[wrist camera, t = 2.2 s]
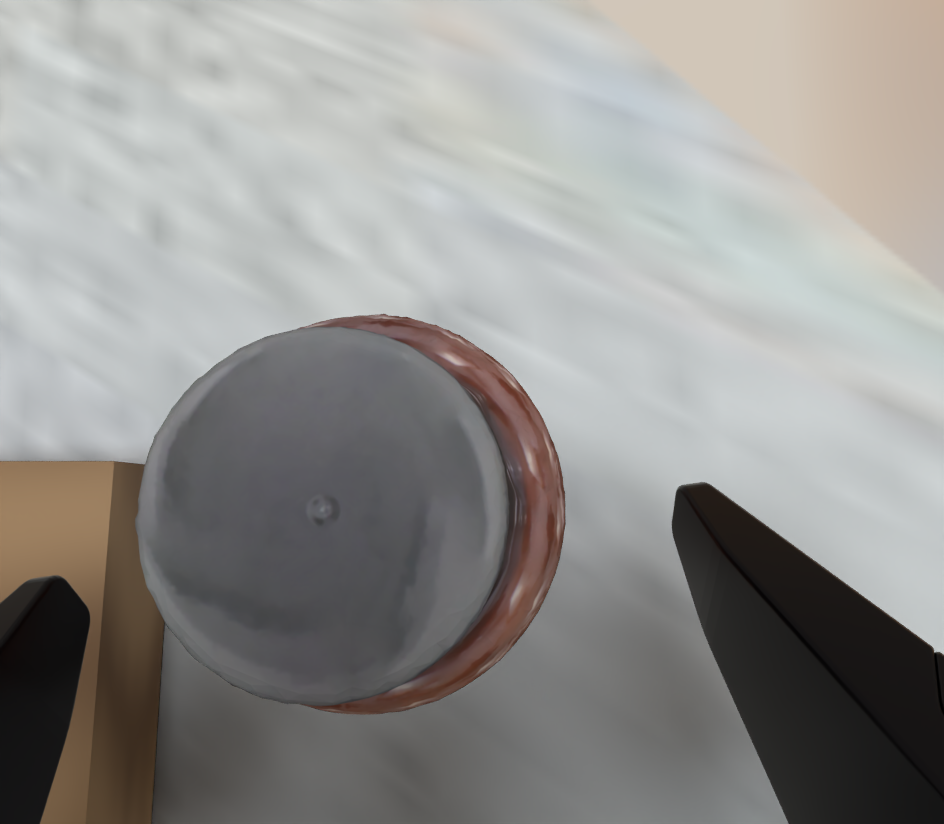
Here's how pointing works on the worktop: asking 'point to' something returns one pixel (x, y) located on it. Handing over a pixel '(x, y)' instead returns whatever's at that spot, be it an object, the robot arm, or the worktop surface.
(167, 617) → the supplement bottle
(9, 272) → the worktop surface
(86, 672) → the walnut block
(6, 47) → the worktop surface
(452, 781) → the worktop surface
